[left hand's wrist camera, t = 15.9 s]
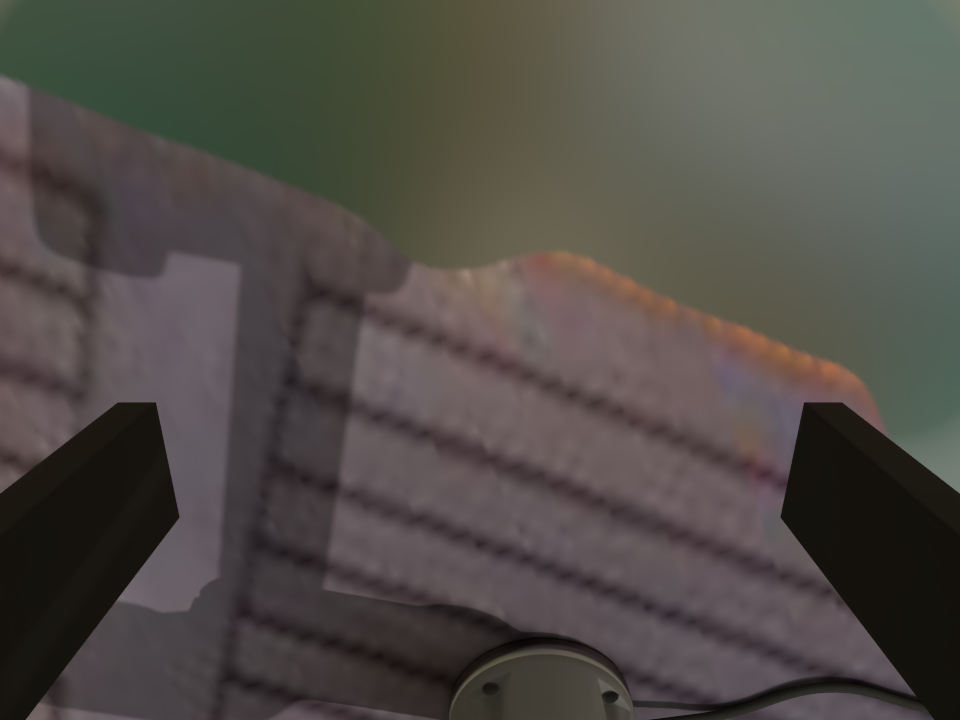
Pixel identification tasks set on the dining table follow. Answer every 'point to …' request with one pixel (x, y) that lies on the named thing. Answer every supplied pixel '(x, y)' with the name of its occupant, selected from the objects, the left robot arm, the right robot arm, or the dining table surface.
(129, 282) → the dining table surface
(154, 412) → the left robot arm
